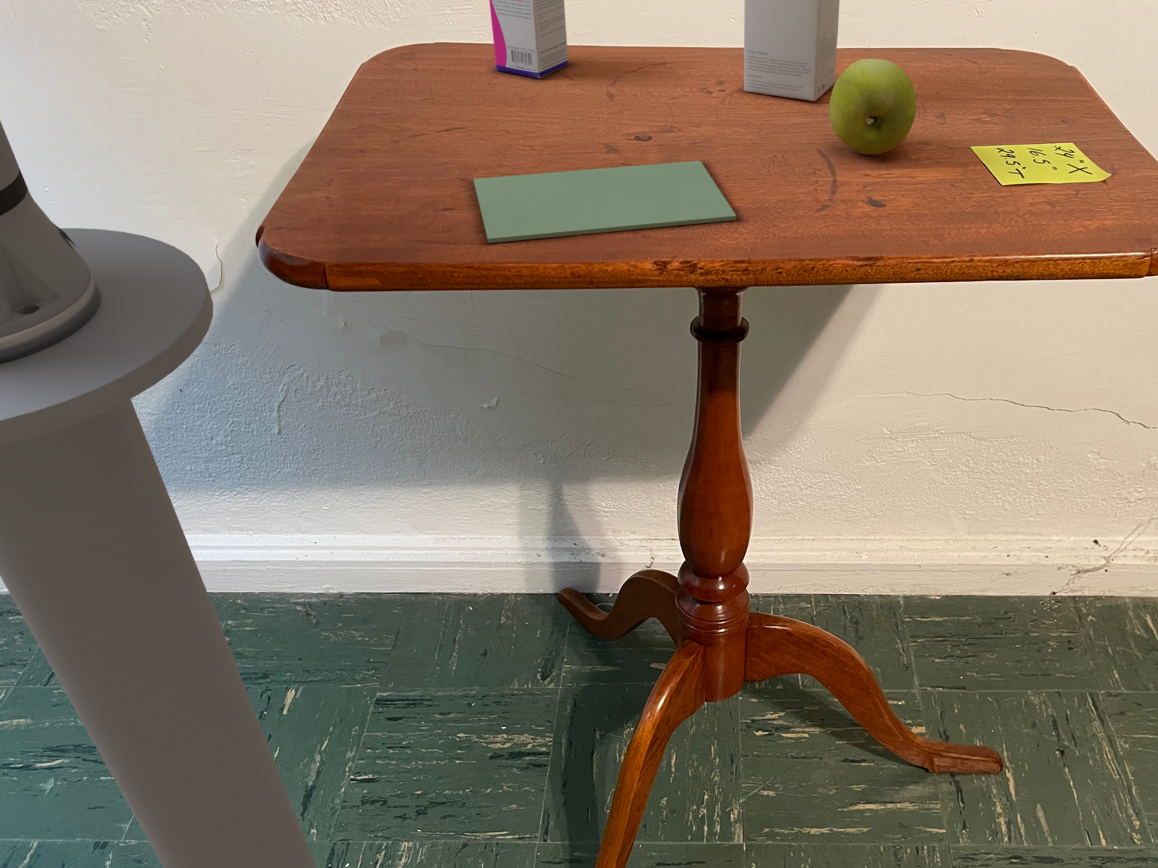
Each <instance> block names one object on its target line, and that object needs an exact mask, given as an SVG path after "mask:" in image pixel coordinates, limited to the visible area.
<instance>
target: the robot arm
mask: <svg viewBox="0 0 1158 868" xmlns="http://www.w3.org/2000/svg"><path fill="white" fill-rule="evenodd" d="M60 228H61V227H59V226H58V225H56V223H54V222H53V221H52V220H51V219H50V217H48V215H47V214H46V213H45V212H44V210H43V209H42V208H41V207H40V206H39V205H38V203H37V202H36V201H35V200H34V198H33V196H32V194H31V192H30V190H29V187H28V185H27V183H26V181H25V178H24V176H23V173H22V170H21V168H20V166H19V163H18V160H17V159H16V155H15V153H14V150H13V148H12V146H11V144H10V140H9V138H8V136H7V133H6V131H5V128H4V126H3V124H2V121H1V120H0V364H2V363H6V362H9V361H13V360H16V359H19V358H22V357H25V356H28V355H31V354H33V353H36V352H39V351H41V350H43V349H46V348H48V347H50V346H52V345H54V344H56V343H58V342H60V341H62V340H64V339H65V338H67V337H69V336H70V335H72V334H73V333H75V332H76V331H77V330H79V329H80V328H81V327H83V326H84V325H85V324H86V323H87V322H88V321H89V320H90V319H91V318H92V317H93V316H94V314H95V313H96V311H97V309H98V307H99V305H100V292H99V290H98V287H97V284H96V282H95V279H94V277H93V274H92V272H91V269H90V268H89V266H88V265H87V264H86V263H85V261H84V260H83V259H82V258H81V256H80V255H79V254H78V253H77V252H76V250H75V249H74V248H73V247H72V246H71V244H70V243H69V242H68V241H70V242H71V243H72V244H73V245H75V244H74V243H73V242H72V241H71V239H70V238H69V237H68V236H67V235H66V233H65V232H64V231H62V230H61V229H60ZM67 240H68V241H67ZM75 246H76V245H75Z"/></svg>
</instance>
